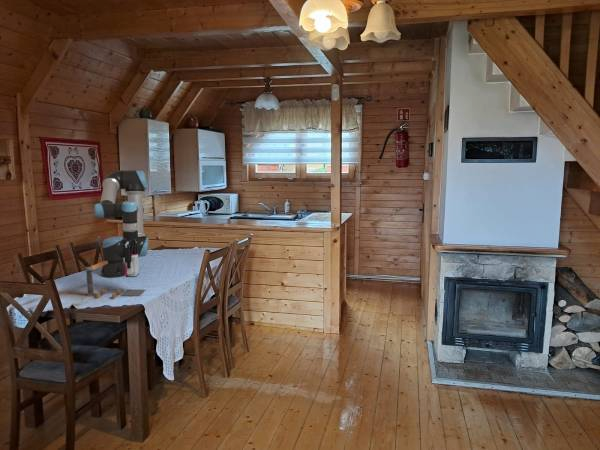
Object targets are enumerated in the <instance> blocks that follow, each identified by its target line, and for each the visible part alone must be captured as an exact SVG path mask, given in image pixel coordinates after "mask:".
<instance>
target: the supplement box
mask: <svg viewBox="0 0 600 450" xmlns="http://www.w3.org/2000/svg"><path fill="white" fill-rule="evenodd" d="M124 261H125V259H124ZM131 262H132V271H133V274H127V263H125V262H124V263H125V275H124V276H125V278H137V276H139V275H140V266H139V257H138V254H132V259H131Z"/></svg>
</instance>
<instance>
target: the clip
mask: <svg viewBox="0 0 600 450" xmlns="http://www.w3.org/2000/svg"><path fill="white" fill-rule="evenodd" d="M106 264H108V261H104V260H102V261H101V262H98V263H95V264H93V265H91V266H85V272H87V271H92V272H93V270H96V269H99V268H102V267H103V265H106Z"/></svg>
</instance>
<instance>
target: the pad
mask: <svg viewBox="0 0 600 450" xmlns="http://www.w3.org/2000/svg"><path fill="white" fill-rule="evenodd" d="M144 291H145V292H146V289H132V288H131V289H129V288H128V289H126V290H124V291H123V292H122V293H121V294H120V295H119V296H120V297H132V296H139V297H140V296H141V295H143V293H145V292H144Z"/></svg>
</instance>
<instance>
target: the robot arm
mask: <svg viewBox="0 0 600 450" xmlns="http://www.w3.org/2000/svg"><path fill="white" fill-rule="evenodd" d="M101 185H102V193H101V196H100V201H99V203H96V204H94V207H93V208H94V209H93V211H94V217H96V218H102V219H104V218H122V230H123V231H122V236H121V235H120V236H117V235H116V236H111V237H107V238H105V239H104V240H103V241H102V253H103V257H102V258H103V261H108V264H106V265H103V266H101V271H100V276H102V277H103V278H119V277H123V276H125V263H127V274H133V271H132V262H131V259H132V254H138V258H141V257H142V258H143V257H146V256H147V255H148V250H149V238H148V237H147V235H146V233H144V232H145V231H144V211H143V209H144V208H143V207H144V204H143V203H144V202H143V200H144V199H143V195H144V194H145V192H146V191H145V190H147V189H148V186H147V178H146V174H145V172H144V171H143V170H137V169H136V170H135V169H134V170H131V169H130V170H118V169H117V170H115V171H112V172H110V173H109V174H107V175H106V176H105V177H104V179H103V181H102V184H101ZM118 190H124V192H125V194H126V195H127V201H123V202H122V203H119V202H118V203H116V198H117V192H118ZM124 259H125V260H124Z"/></svg>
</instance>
